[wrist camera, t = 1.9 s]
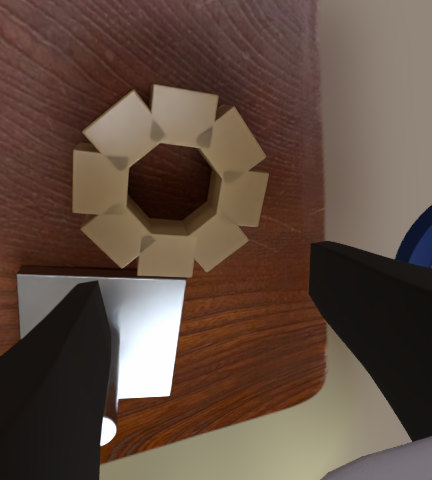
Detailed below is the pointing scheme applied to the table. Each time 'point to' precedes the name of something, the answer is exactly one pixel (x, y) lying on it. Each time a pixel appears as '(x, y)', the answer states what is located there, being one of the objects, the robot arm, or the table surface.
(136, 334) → the peg stand
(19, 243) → the table surface
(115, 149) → the ring
